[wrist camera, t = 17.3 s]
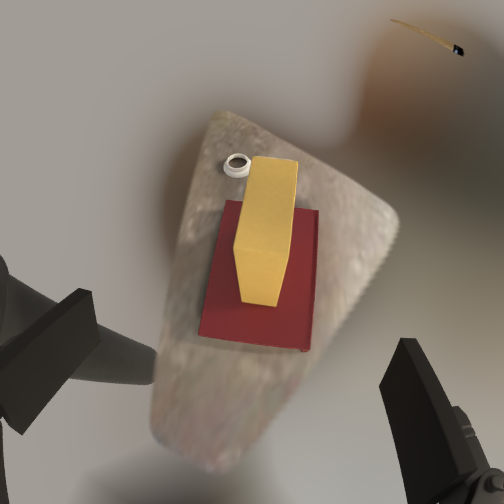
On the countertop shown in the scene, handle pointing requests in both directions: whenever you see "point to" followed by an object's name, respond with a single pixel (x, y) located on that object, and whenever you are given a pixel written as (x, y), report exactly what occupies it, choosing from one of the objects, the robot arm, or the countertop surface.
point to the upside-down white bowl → (237, 171)
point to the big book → (255, 315)
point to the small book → (265, 229)
